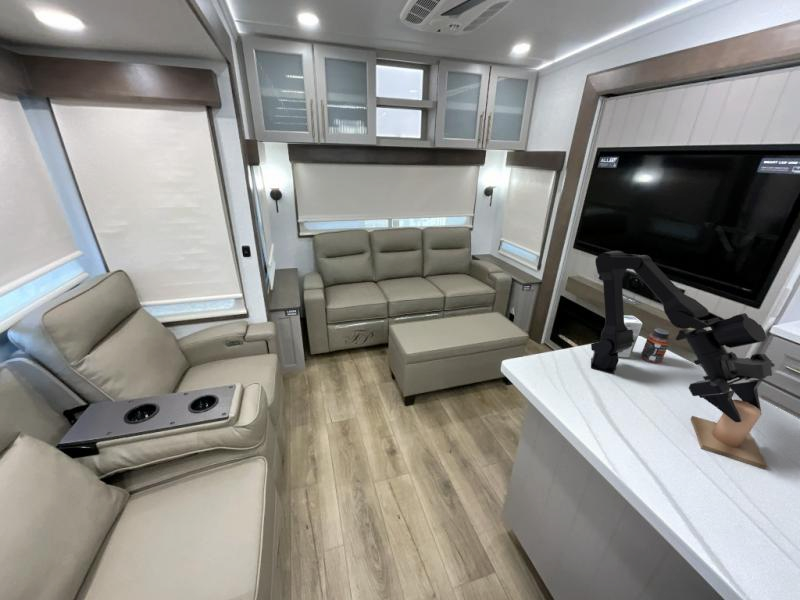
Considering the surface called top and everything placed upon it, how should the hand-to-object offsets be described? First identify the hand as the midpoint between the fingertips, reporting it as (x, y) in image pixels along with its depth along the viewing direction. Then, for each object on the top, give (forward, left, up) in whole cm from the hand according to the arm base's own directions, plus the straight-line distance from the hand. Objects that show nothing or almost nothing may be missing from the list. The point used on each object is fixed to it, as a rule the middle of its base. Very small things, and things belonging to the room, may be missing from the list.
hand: (748, 417), depth 71 cm
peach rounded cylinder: (-1, +1, -8) cm, 8 cm away
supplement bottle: (-12, +36, -9) cm, 39 cm away
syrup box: (-22, +34, -9) cm, 41 cm away
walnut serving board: (-1, +1, -9) cm, 9 cm away
